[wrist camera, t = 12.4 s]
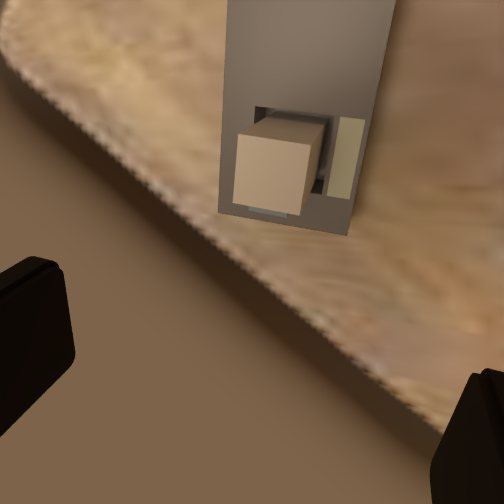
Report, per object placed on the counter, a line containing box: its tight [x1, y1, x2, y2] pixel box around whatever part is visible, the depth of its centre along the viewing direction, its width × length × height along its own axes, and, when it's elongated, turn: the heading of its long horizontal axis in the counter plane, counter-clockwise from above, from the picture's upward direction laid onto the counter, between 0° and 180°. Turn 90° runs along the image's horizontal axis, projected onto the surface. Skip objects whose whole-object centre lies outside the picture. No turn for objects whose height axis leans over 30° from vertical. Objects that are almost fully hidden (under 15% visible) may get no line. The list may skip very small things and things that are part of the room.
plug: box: [233, 111, 329, 218], centre depth 27 cm, size 4×5×10 cm
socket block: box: [218, 0, 396, 236], centre depth 27 cm, size 10×24×4 cm, turn 175°
